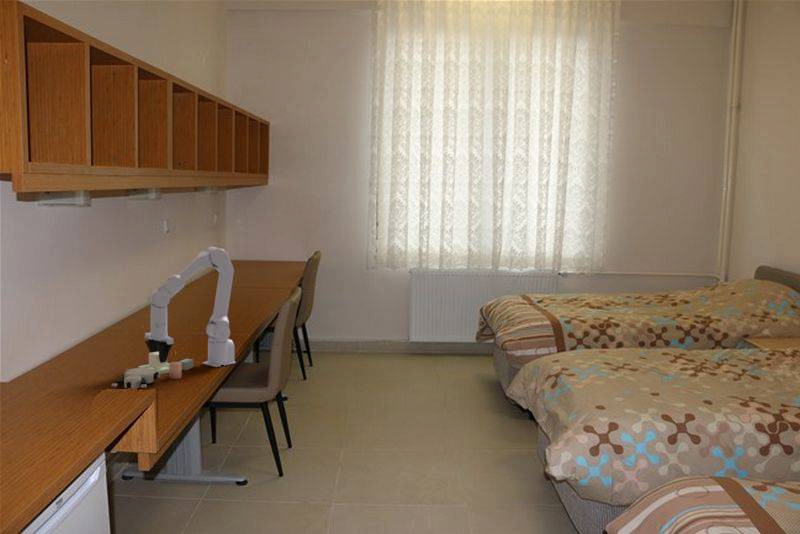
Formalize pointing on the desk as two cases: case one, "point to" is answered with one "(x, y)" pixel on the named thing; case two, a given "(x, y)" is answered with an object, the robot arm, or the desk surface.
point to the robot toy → (137, 378)
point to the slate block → (187, 364)
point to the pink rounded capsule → (175, 370)
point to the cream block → (156, 361)
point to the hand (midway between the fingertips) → (158, 361)
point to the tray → (165, 369)
